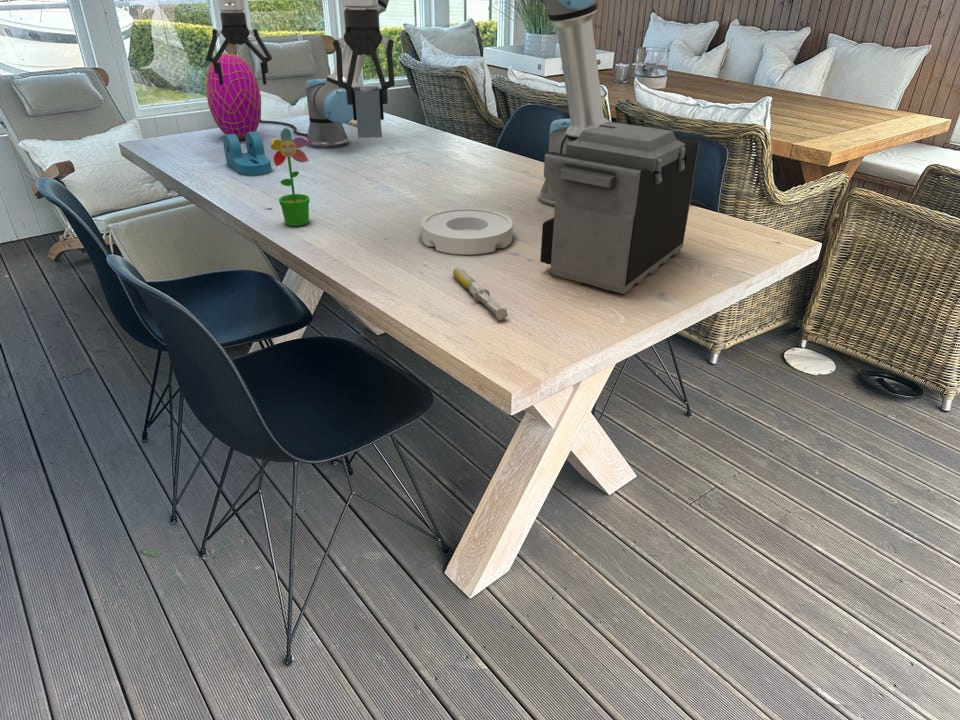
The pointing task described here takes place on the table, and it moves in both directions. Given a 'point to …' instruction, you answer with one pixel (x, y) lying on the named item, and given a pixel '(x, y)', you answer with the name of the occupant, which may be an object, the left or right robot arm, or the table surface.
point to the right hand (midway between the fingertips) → (368, 118)
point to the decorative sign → (353, 122)
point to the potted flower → (291, 178)
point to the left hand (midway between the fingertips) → (243, 84)
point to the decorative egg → (234, 96)
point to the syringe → (479, 293)
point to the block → (368, 111)
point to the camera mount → (246, 154)
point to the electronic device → (618, 204)
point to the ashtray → (467, 231)
